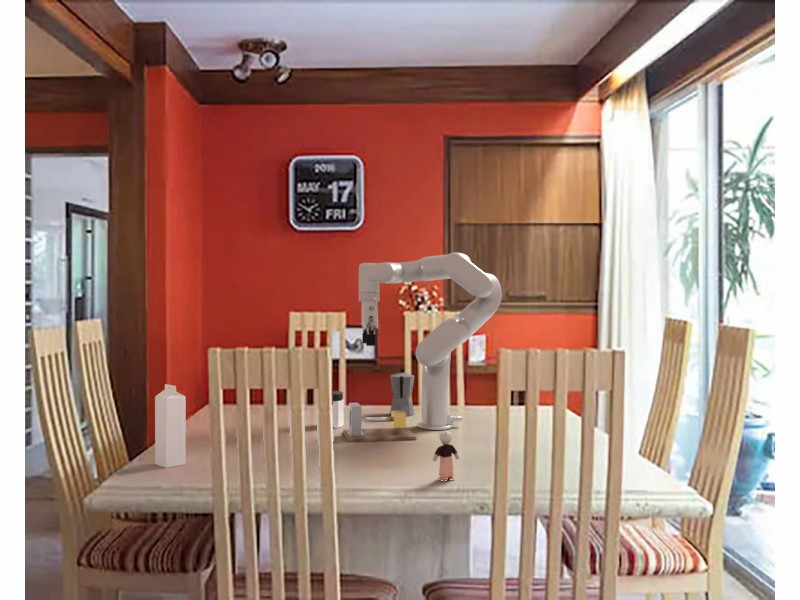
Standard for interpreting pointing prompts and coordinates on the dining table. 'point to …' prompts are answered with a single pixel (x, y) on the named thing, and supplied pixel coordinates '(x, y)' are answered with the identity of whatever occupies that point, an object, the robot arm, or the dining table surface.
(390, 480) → the dining table surface
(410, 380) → the coffeepot
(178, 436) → the milk
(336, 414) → the jar
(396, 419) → the yellow block headed rod
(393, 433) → the copper board
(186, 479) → the dining table surface
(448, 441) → the grandmother figurine
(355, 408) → the brushed steel socket base
